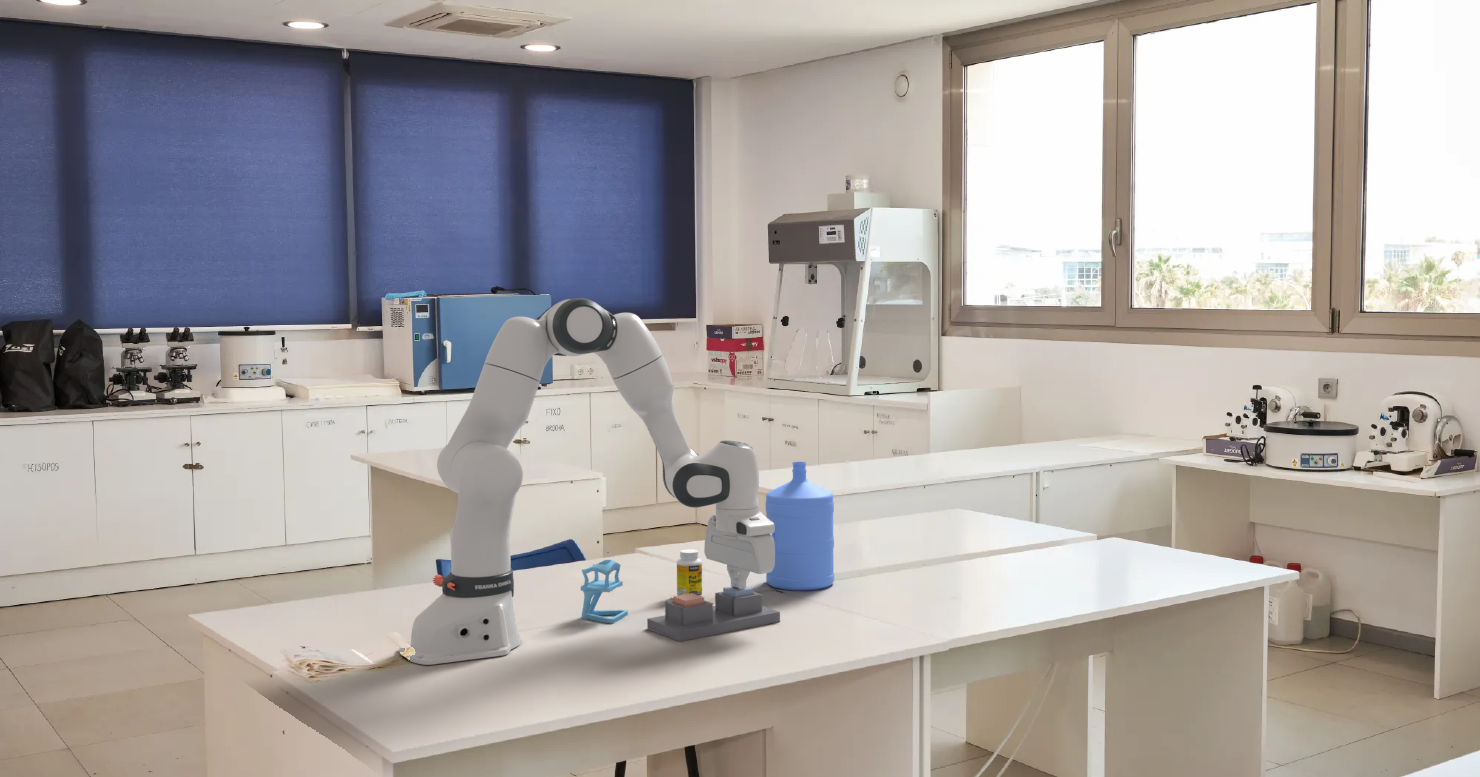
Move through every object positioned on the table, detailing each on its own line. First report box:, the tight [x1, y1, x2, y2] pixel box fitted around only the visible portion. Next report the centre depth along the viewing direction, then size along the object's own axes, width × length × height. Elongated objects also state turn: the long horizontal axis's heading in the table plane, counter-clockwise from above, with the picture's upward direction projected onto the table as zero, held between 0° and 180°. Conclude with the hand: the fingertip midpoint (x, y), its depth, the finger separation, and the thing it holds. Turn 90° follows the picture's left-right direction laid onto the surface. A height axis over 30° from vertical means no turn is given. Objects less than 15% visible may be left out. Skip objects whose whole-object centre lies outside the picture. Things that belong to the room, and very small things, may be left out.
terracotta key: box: [673, 593, 705, 607], centre depth 240 cm, size 4×4×3 cm
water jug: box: [765, 461, 835, 592], centre depth 278 cm, size 16×16×28 cm
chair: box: [580, 559, 629, 624], centre depth 251 cm, size 8×8×12 cm
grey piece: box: [646, 591, 781, 642], centre depth 244 cm, size 24×12×6 cm, turn 125°
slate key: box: [722, 585, 755, 598], centre depth 247 cm, size 4×4×3 cm
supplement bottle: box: [676, 548, 703, 596], centre depth 268 cm, size 6×6×10 cm
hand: (738, 587), depth 247 cm, fingers closed, pressing on slate key
